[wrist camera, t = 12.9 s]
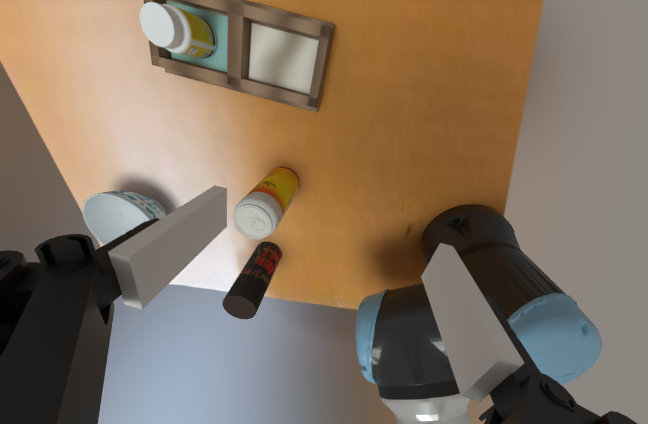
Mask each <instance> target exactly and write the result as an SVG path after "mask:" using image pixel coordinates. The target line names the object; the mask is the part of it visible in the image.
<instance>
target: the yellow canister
mask: <svg viewBox="0 0 648 424" xmlns="http://www.w3.org/2000/svg"><path fill="white" fill-rule="evenodd" d="M298 189H299V182H298V179H297V177H296V175H295V174H294V173H293V172H292V171H290V170H288V169H286V168H276V169H274V170H272V171H271V172H270V173H269V174H268V175H267V176H266V177H265V178H264V179H263V180H262V181H261V182H260V183H259V184H258V185H257V186H256V187H255V188H253V189H252V190H251V191H250V192H249V193H248V194H247V195H246V196H245V197H244V198H243V199H242V200H241V201H240V202H239V203H238V204H237V205H236V207H235V210H234V215H233V222H234V225H235V227H236V228H237V230H238V231H239V232H240V233H241V234H243V235H244V236H246V237H248V238H251V239H263V238H265V237H267V236H269V235H271V234H272V233H273V232H274V231H275V229H276V228H277V226H278V224H279V223H280V221H281V219H282V217H283V216H284V214H285V212H286V210H287V209H288V207H289V205H290V204H291V202H292V200H293V198H294V197H295V195H296V193H297V191H298Z"/></svg>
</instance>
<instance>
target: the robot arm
mask: <svg viewBox="0 0 648 424" xmlns="http://www.w3.org/2000/svg"><path fill="white" fill-rule="evenodd" d="M226 227H227V188H223V187H219V186H213V187H212V188H210V189H208V190H207V191H205V192H204V193H202V194H200V195H199V196H197V197H196V198H194V199H192V200H191V201H189V202H187V203H186V204H184V205H183V206H181V207H179V208H178V209H176V210H175V211H173V212H171V213H170V214H168V215H167V216H165V217H163V218H162V219H158V218H155V219H152V220H149V221H146V222H143V223H141V224H140V225H138V226H136V227H135V228H133V230H132V229H131V230H129V231H128V232H126V233H125V234H124V235H121V236H119V237H118V238H116V239H114V240H112V241H111V242H109V243H107V244H106V245H104V246H102V247H100V248H99V249H97V250H95V248H94V245H93V242H92V239H91V238H90V237H88V236H87V235H82V234H69V235H63V236H58V237H55V238H52V239H49V240H47V241H45V242H43V243H41V244H39V245H38V246H37V247H36V248H35V252H36V254H37V256H38V258H39V260H40V262H41V263H34V262H27V261H26V259H25V257H24V255H23V254H22V253H20V252H18V251H0V424H98V418H99V410H100V404H101V397H102V390H103V383H104V376H105V369H106V362H107V355H108V349H109V341H110V334H111V328H112V321H113V313H114V303H113V301H114V300H115V299H117V298H118V297H119V296H120V295H122V298H123V301H124V304H125V305H128V306H132V307H136V308H139V309H143V308H144V307H145V306H146V305H147V304H148V303H149V302H150V301H151V300H152V299H153V298H154V297H155V296H156V295H157V294H158V293H159V292H160V291H161V290H162V289H164V288H165V287H166V285H168V284H169V283H170V282H171V281H172V280H173V279H174V278H175V277H176V276H177V275H178V274H179V273H180V272H181V271H182V270H183V269H184V268H185V267H186V266H187V265H188V264H189V263H190V262H191V261H192V260H193V259H194V258H195V257H196V256H197V255H198V254H199V253H200V252H201V251H202V250H203V249H204V248H205V247H206V246H207V245H208V244H209V243H210V242H211V241H212V240H213V239H214V238H215V237H216V236H217V235H218V234H219V233H220V232H221V231H222V230H223V229H225V228H226ZM422 250H423V252H424V255H425V257H426V259H427V261H428V263H429V264H428V265H427V267H426V269H425V271H424V273H423V274H422V276H421V278H422V281H423V283H422V284H417V285H413V286H408V287H403V288H398V289H394V290H389V289H387V290H384V291H383V292H381V293H377V294H374V295H370V296H367V297H366V298H364V299H363V300H362V302H361V303H360V305H359V309H358V312H357V317H356V347H357V355H358V360H359V363H360V364H361V371H362V373H363V375H364V377H365V378H366V379H367V380H368V381H370V382H372V383H377V384H378V389H379V394H380V398H381V401H382V402H383V403H384V404H385V405H386V406H388V408H389V409H391V410H392V411H393V412H394V414H395V416H396V420H397V424H471V422H470V419H469V416H468V413H467V405H468V403H469V401H470V399H473V400H476V401H482V400H483V399H484V398H485V397H486V396H488V395H489V394H490V396H491V398H492V401H493V403H494V405H493V406H492V407H491V408H490V409H488V410H487V411H486V412H484V413H483V414H482V415H481V416H480V417H479V419H480V420H481V421H483V420H484V419H485V418H486V420H485V423H484V424H637V423H636V422H634V421H633V420H631V419H630V418H628V417H627V416H624V415H622V414H620V413H618V412H612V411H610V412H608V413H607V414H605V415H603V416H602V417H600V416H598V415H596V414H594V413H593V412H591V411H589V410H587V409H585V408H583V407H581V406H580V405H578V404H577V403H576V402H575V400H574V398H573V397H572V396H571V395H570V394H569V393H568V391H567V390H566V389H565V388H564V387H563V386H562V385H563V384H566V383H568V382H570V381H572V380H574V379H576V378H578V377H579V376H581V375H582V374H583V373H585V372H586V371H588V370H589V369H590V368H591V367H592V366H593V364H595V362H596V361H597V359H598V358H599V355H600V352H601V349H602V348H601V347H602V341H601V336H600V334H599V332H598V330H597V328H596V327H595V326H594V324H593V323H592V322H591V321H590V320H589V319H588V318H587V316H586V315H585V314H584V313H583V312H582V311H581V310H580V309H579V308H578V306H577V304H576V302H575V301H574V300H573V299H572V298H571V297H570V296H568V295H566V294H565V293H564V292H563V291H562V290H561V289H560V288H559V287H558V286H557V285H556V284H555V283H554V282H553V281H552V280H551V279H550V278H549V277H548V276H547V275H546V274H545V273H544V272H542V271H541V269H539V267H537V265H535V264H534V263H533V262H532V261H531V260H530V259H529V258H528V257H527V256H526V255H525V254H524V253H523V252H522V251H521V250H520V247H519V245H518V242H517V240H516V237H515V234H514V230H513V228H512V226H511V225H510V224H509V222H508V221H507V220H506V219H505V218H504V217H503V216H502V215H501V214H499V213H498V212H497V211H495V210H493V209H491V208H489V207H485V206H480V205H465V206H459V207H456V208H453V209H450V210H448V211H445V212H444V213H442V214H440V215H439V216H437V217H436V218H435V219H434V220H433V221H432V222H431V223H430V224H429V225H428V226H427V228H426V229H425V231H424V234H423V237H422Z"/></svg>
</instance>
